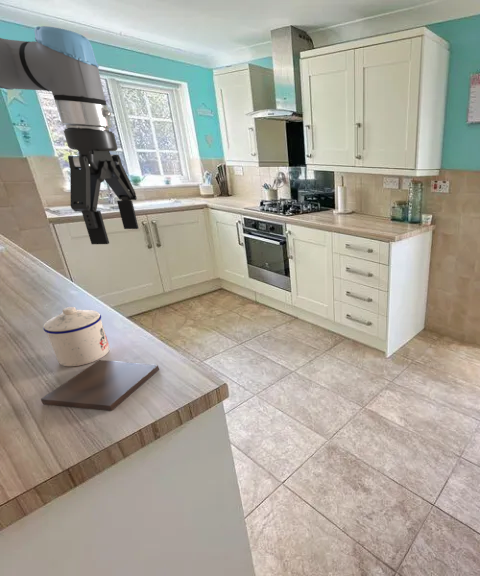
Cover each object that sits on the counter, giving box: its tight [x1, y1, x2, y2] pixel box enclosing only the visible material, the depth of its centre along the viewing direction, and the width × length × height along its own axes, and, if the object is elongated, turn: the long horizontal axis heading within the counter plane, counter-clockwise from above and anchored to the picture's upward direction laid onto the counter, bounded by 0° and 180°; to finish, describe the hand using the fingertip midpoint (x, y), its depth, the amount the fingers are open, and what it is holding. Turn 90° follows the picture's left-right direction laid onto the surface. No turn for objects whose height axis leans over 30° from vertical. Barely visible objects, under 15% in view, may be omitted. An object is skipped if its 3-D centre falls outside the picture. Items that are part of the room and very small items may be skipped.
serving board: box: [40, 359, 160, 412], centre depth 64 cm, size 13×12×1 cm
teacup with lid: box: [43, 306, 111, 367], centre depth 71 cm, size 12×9×12 cm
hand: (117, 235), depth 72 cm, fingers open, 13 cm apart
